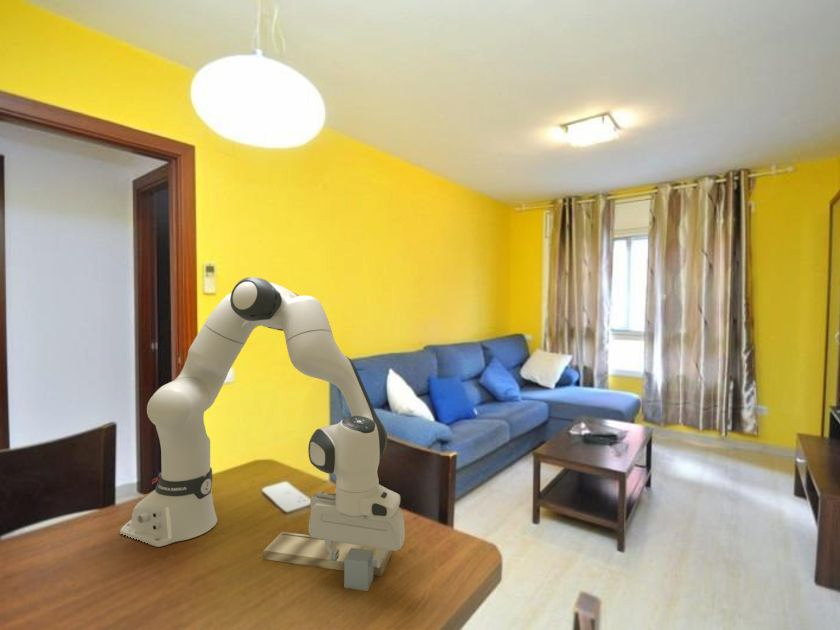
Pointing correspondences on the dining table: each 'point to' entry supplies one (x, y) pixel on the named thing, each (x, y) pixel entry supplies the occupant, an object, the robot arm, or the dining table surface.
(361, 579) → the grey mallet
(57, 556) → the dining table surface
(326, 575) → the dining table surface
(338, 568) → the board
